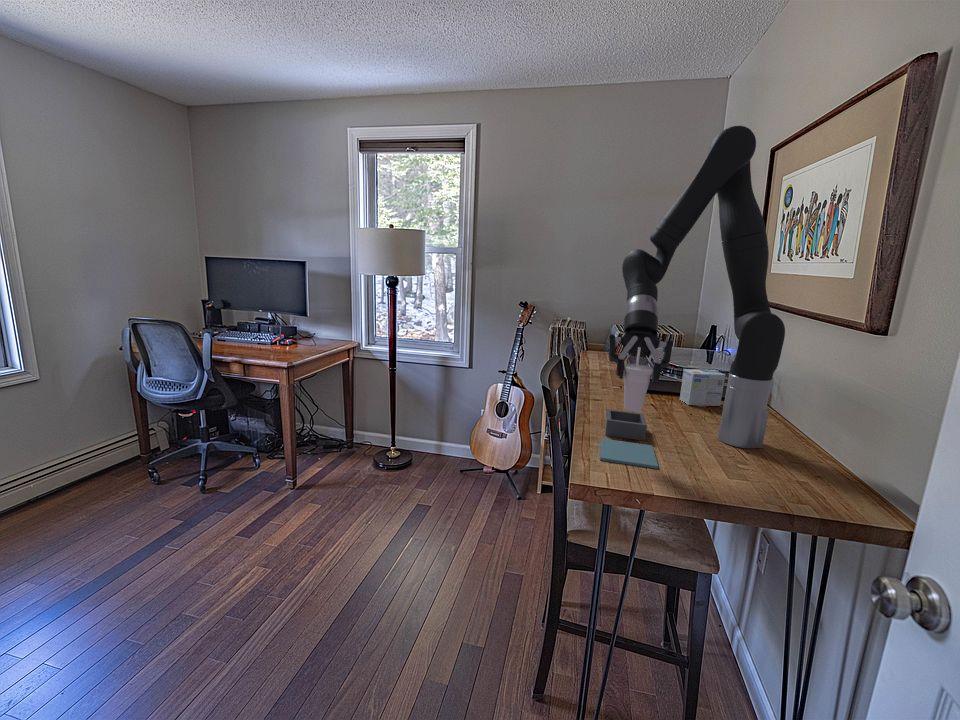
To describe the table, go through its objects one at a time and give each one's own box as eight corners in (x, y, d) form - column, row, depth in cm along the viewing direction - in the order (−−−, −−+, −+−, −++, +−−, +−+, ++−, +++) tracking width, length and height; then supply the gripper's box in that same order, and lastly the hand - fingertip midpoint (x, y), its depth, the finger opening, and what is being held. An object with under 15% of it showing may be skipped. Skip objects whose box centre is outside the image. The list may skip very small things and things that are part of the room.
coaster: (651, 447, 111) (652, 445, 111) (657, 468, 99) (658, 466, 99) (600, 440, 114) (600, 438, 113) (600, 460, 102) (600, 457, 102)
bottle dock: (641, 427, 124) (643, 413, 123) (644, 440, 115) (647, 425, 114) (604, 423, 126) (606, 408, 125) (605, 435, 117) (607, 420, 116)
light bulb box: (709, 401, 154) (714, 369, 152) (720, 407, 147) (726, 374, 145) (678, 400, 153) (683, 368, 151) (688, 406, 146) (693, 373, 144)
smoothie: (611, 405, 106) (619, 344, 103) (633, 403, 108) (642, 344, 105) (631, 414, 100) (640, 351, 97) (654, 412, 103) (663, 350, 100)
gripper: (611, 305, 108) (605, 365, 100) (677, 311, 105) (676, 374, 96) (607, 325, 114) (602, 383, 106) (669, 331, 111) (669, 392, 103)
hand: (637, 378), depth 101 cm, fingers closed on smoothie, 6 cm apart
